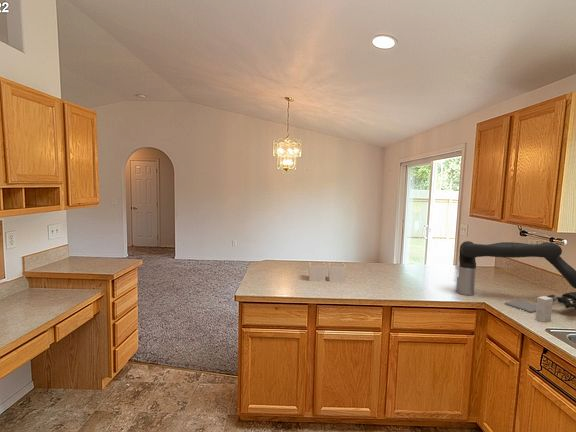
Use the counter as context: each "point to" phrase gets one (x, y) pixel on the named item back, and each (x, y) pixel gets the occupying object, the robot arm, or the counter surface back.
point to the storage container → (333, 273)
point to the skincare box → (544, 308)
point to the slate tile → (522, 305)
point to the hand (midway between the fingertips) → (556, 303)
